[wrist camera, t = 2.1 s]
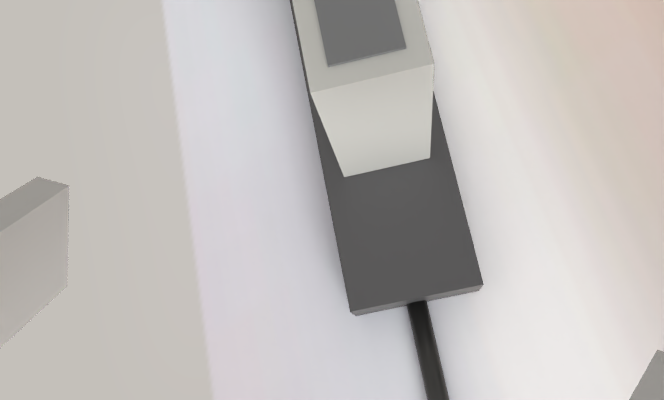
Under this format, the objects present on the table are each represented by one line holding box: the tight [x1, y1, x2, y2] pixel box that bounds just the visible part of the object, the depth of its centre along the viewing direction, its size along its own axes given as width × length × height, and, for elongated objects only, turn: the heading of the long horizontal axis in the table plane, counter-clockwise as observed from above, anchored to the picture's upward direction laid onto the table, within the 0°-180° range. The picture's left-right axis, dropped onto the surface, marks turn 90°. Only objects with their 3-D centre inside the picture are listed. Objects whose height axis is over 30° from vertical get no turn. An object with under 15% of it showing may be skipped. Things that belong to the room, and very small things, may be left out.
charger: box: [292, 0, 434, 177], centre depth 28 cm, size 5×4×12 cm
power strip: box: [290, 0, 483, 400], centre depth 32 cm, size 32×6×3 cm, turn 11°
